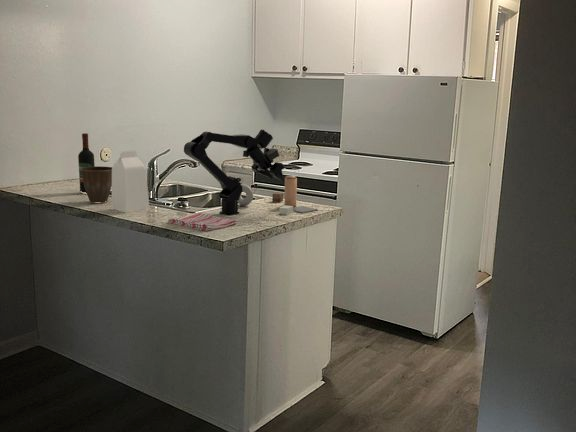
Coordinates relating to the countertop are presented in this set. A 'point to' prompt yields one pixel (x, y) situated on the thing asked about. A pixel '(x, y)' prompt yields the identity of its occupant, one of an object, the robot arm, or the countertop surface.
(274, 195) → the walnut cube
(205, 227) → the dish towel
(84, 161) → the wine bottle
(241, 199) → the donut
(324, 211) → the countertop surface
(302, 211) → the slate coaster
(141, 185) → the milk
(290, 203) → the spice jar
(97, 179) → the plant pot
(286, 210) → the grey box
